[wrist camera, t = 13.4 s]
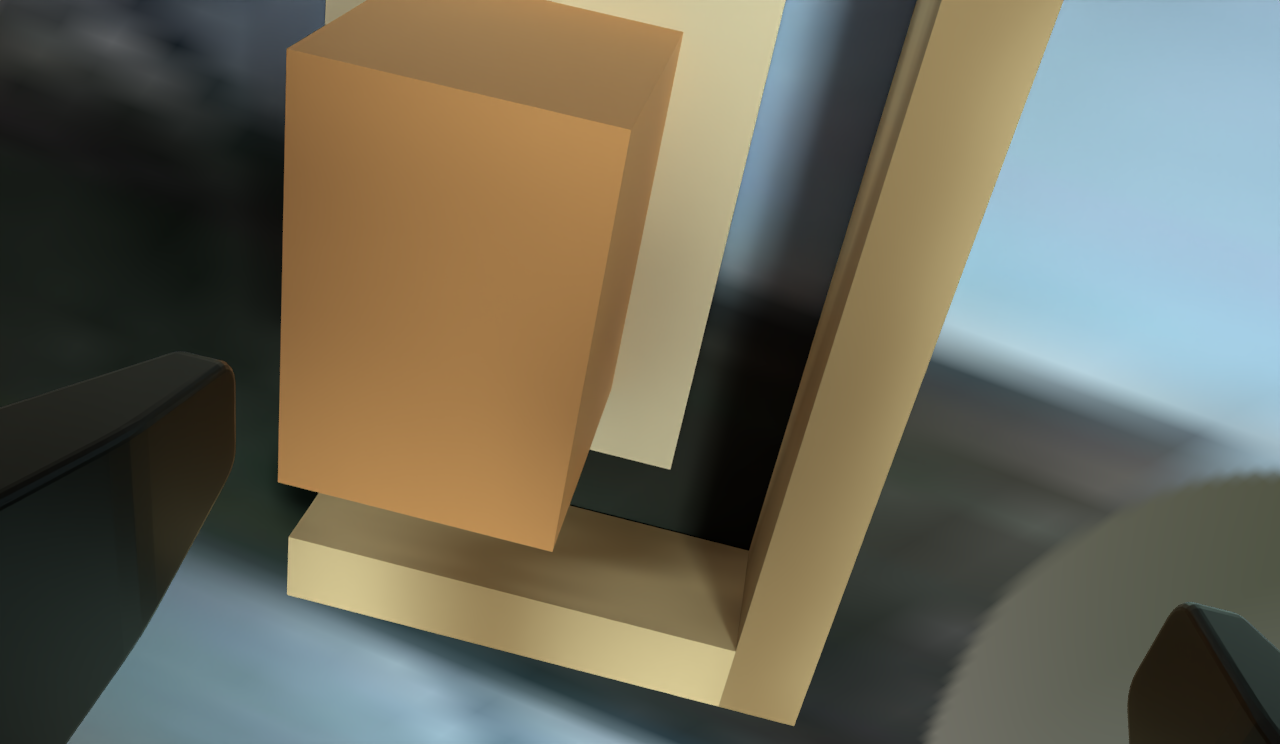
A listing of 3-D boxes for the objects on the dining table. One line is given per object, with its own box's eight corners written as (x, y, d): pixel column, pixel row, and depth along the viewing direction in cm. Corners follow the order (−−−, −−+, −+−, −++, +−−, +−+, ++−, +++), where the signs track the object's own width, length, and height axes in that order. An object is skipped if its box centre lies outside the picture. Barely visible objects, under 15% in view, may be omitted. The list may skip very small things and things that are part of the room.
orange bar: (611, 389, 22) (552, 552, 18) (388, 334, 22) (278, 482, 18) (683, 31, 19) (631, 130, 14) (416, -30, 19) (286, 48, 15)
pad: (796, -46, 18) (795, -42, 18) (672, 461, 23) (670, 470, 23) (339, -150, 18) (331, -147, 18) (317, 372, 24) (311, 379, 23)
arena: (1077, -169, 17) (1117, -146, 14) (800, 620, 25) (794, 725, 22) (394, -319, 17) (312, -322, 14) (345, 504, 25) (287, 594, 23)
